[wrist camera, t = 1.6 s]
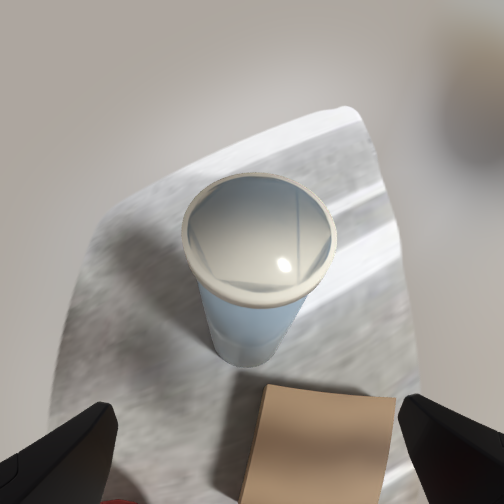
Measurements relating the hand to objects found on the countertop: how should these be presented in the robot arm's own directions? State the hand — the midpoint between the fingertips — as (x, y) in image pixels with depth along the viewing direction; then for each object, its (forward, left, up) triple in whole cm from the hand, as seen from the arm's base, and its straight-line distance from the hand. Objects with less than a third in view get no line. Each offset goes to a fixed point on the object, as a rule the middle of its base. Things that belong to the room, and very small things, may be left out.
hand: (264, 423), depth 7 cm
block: (-4, -4, -12) cm, 13 cm away
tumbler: (+6, -1, -12) cm, 14 cm away
